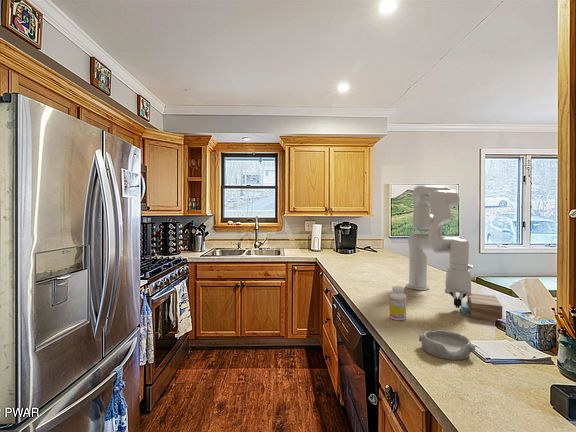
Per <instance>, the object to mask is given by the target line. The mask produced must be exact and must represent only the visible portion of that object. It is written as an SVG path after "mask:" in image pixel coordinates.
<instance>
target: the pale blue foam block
mask: <svg viewBox="0 0 576 432" xmlns="http://www.w3.org/2000/svg"><path fill="white" fill-rule="evenodd" d="M460 311H461V315H465V311H466V312H471V305H470V303H467V301H466V302H465V301H461V306H460Z"/></svg>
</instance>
